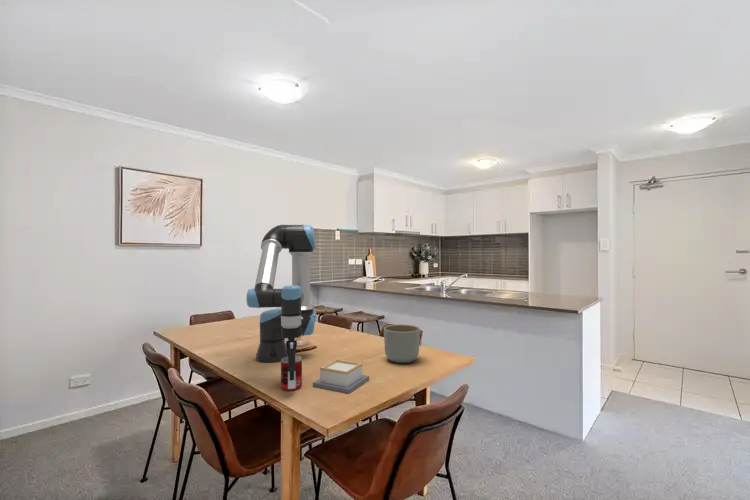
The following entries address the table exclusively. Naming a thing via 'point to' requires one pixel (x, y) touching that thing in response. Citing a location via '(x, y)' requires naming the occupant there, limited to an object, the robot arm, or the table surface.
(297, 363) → the canned food
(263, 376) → the table surface
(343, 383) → the base
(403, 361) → the planter
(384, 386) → the table surface
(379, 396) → the table surface
